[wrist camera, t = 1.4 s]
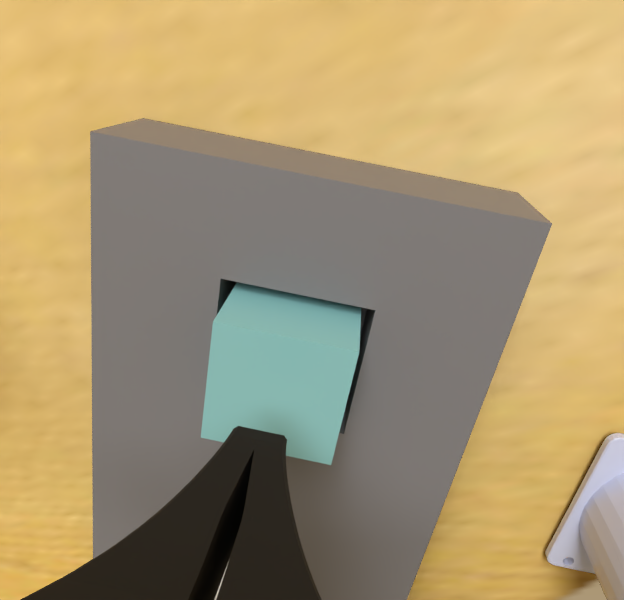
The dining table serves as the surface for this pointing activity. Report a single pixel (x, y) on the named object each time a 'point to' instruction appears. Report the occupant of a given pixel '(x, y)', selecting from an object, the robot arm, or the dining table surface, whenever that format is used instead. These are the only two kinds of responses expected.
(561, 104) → the dining table surface
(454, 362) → the panel
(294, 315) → the teal key
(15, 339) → the dining table surface
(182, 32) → the dining table surface
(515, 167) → the dining table surface
